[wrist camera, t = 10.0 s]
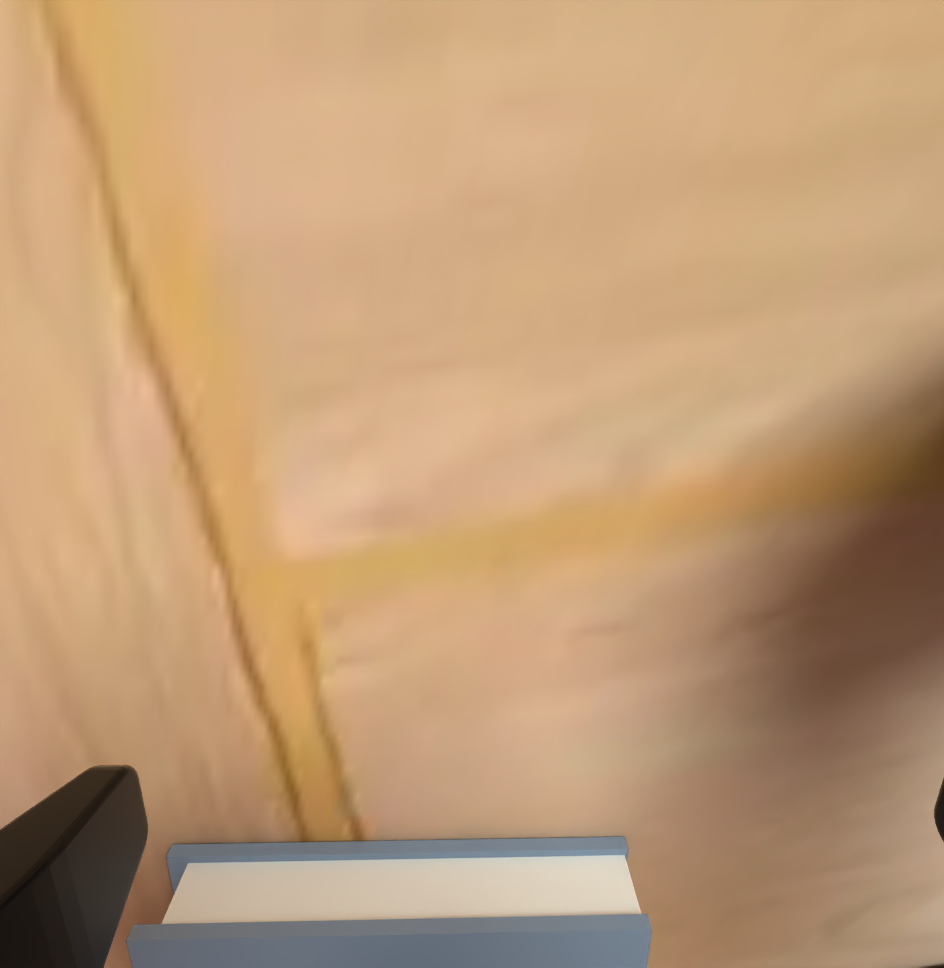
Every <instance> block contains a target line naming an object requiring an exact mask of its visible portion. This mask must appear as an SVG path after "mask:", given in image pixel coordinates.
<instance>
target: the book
mask: <svg viewBox="0 0 944 968" xmlns="http://www.w3.org/2000/svg"><path fill="white" fill-rule="evenodd" d="M627 854H628V846H627V843H626V840H625V837H574V838H516V839H459V840H402V841H344V842H287V843H229V844H172V846H171V848H170V850H169V852H168V854H167V856H166V858H167V863H168V868H169V873H170V879H171V884H172V889H173V894H174V896H173V898H172V901H171V903H170V905H169V907H168V910H167V912H166V914H165V917H164V919H163V921H162V923H161V924H134V925H133V927H132V929H131V931H130V933H129V935H128V937H127V940H126V943H127V947H128V951H129V955H130V960H131V964H132V968H647V963H648V955H649V948H650V940H651V933H652V928H651V924H650V921H649V918H648V914H641V911H640V907H639V904H638V900H637V897H636V893H635V890H634V886H633V883H632V879H631V876H630V872H629V869H628V865H627Z"/></svg>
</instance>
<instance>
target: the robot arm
mask: <svg viewBox="0 0 944 968" xmlns="http://www.w3.org/2000/svg"><path fill="white" fill-rule="evenodd" d="M934 818H935V823H936V826H937V829H938V832H939V834H940V836H941V838H942V840H943V842H944V778H943V782H942V785H941V788H940V791H939V795H938V798H937V801H936V804H935V809H934ZM147 833H148V823H147V817H146V812H145V807H144V802H143V797H142V792H141V787H140V783H139V778H138V775H137V772H136V770H135V769H134V768H133V767H131V766H128V765H99V766H94V767H91V768H89V769H88V770H86V771H84V772H83V773H81V774H80V775H78V776H77V777H76V778H74V779H73V780H71V781H70V782H68V783H67V784H65V785H64V786H63V787H61V788H60V789H58V790H57V791H55V792H54V793H52V794H51V795H49V796H48V797H47V798H45V799H44V800H42V801H41V802H39V803H38V804H36V805H35V806H34V807H32V808H31V809H29V810H28V811H26V812H25V813H23V814H22V815H20V816H19V817H18V818H16V819H15V820H13V821H12V822H10V823H9V824H7V825H6V826H5V827H3V828H2V829H0V968H103V967H104V964H105V961H106V958H107V955H108V953H109V950H110V947H111V944H112V941H113V938H114V935H115V932H116V929H117V927H118V924H119V921H120V918H121V915H122V912H123V909H124V906H125V903H126V901H127V898H128V895H129V892H130V889H131V886H132V883H133V880H134V877H135V875H136V872H137V869H138V866H139V863H140V860H141V857H142V854H143V851H144V848H145V845H146V840H147Z"/></svg>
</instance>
